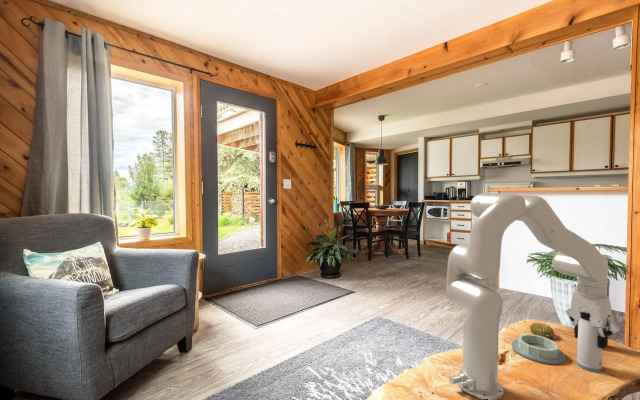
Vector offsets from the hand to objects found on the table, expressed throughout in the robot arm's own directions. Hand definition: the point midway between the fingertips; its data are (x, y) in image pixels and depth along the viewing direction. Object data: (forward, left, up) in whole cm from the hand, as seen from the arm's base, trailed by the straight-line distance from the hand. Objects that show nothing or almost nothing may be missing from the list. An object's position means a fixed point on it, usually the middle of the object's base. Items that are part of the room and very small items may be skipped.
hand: (590, 341), depth 103 cm
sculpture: (+7, +22, -9) cm, 25 cm away
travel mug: (0, 0, -9) cm, 9 cm away
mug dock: (-8, +12, -9) cm, 17 cm away
